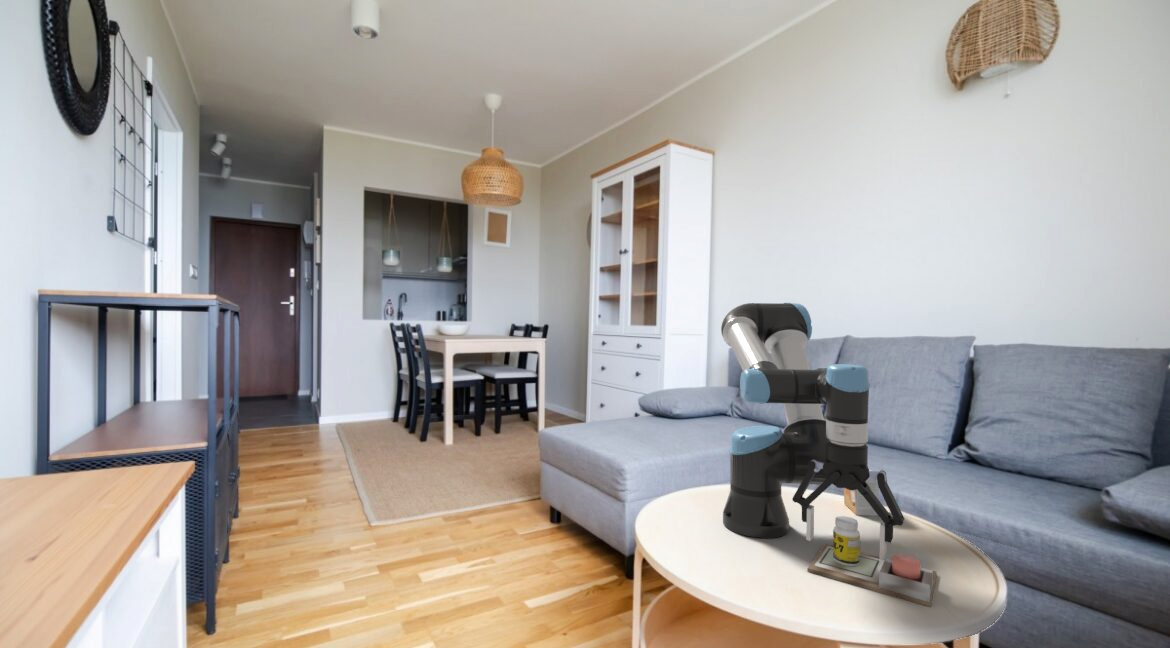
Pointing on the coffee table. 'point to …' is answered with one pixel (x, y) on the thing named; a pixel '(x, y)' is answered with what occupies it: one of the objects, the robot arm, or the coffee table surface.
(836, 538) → the supplement bottle
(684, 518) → the coffee table surface
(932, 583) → the board
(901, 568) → the button
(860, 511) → the small box
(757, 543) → the coffee table surface
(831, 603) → the coffee table surface
